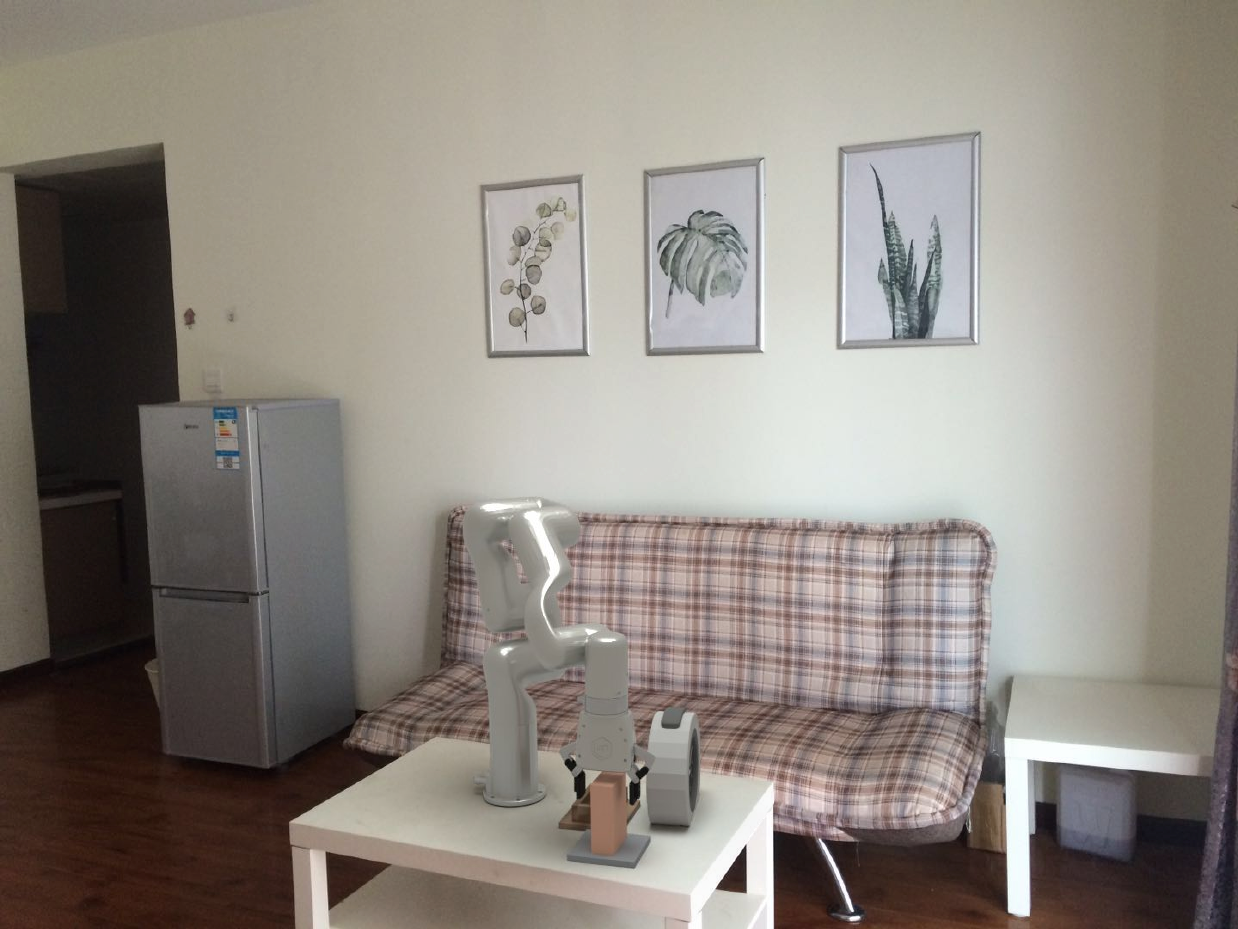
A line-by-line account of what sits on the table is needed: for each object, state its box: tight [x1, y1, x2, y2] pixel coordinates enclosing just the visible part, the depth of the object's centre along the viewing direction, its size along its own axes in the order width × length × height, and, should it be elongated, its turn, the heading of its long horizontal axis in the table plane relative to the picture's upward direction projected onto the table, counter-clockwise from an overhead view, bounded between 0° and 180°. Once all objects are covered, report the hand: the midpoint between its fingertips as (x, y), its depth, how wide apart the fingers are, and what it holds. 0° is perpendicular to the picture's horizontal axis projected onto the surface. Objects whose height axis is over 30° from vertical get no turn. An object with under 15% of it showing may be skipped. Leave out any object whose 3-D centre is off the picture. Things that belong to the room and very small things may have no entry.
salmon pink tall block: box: [589, 771, 628, 856], centre depth 174 cm, size 4×8×12 cm, turn 163°
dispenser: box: [558, 782, 641, 832], centre depth 189 cm, size 12×14×5 cm
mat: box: [566, 829, 652, 869], centre depth 174 cm, size 12×11×1 cm
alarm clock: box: [645, 706, 701, 827], centre depth 191 cm, size 21×8×20 cm, turn 168°
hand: (607, 799), depth 174 cm, fingers open, 9 cm apart
